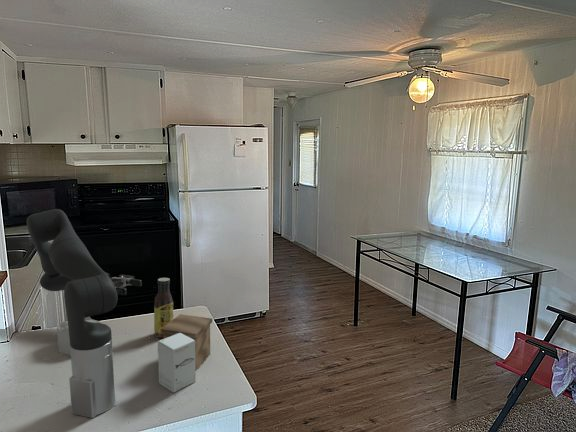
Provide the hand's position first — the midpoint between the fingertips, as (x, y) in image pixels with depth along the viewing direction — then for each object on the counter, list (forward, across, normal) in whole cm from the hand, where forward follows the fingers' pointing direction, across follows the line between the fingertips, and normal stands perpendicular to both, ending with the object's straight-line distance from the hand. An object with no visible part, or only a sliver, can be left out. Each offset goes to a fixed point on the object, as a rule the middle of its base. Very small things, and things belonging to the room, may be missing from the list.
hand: (133, 287), depth 142 cm
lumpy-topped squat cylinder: (-10, -15, +16) cm, 24 cm away
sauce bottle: (+12, 0, +16) cm, 20 cm away
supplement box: (+30, -25, +15) cm, 42 cm away
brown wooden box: (+28, -13, +15) cm, 34 cm away
